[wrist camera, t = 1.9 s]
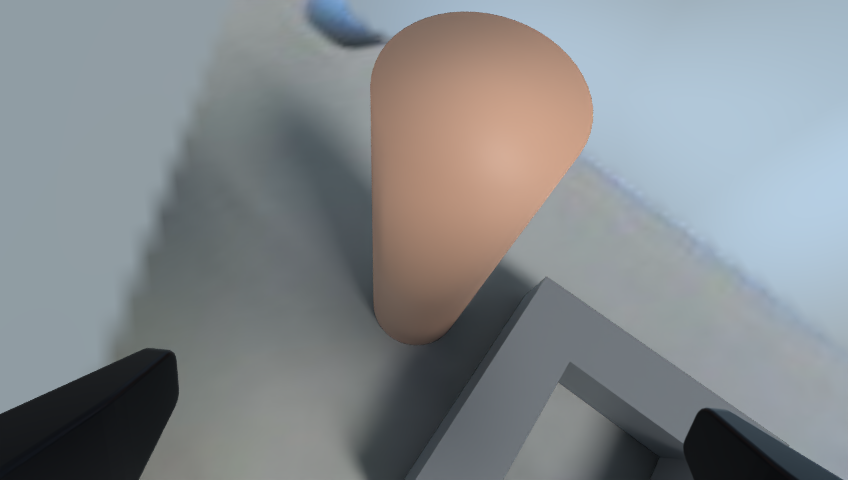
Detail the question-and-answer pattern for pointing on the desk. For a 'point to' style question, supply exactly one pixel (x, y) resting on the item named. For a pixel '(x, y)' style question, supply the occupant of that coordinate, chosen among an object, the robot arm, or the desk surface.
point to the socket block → (577, 371)
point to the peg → (462, 158)
